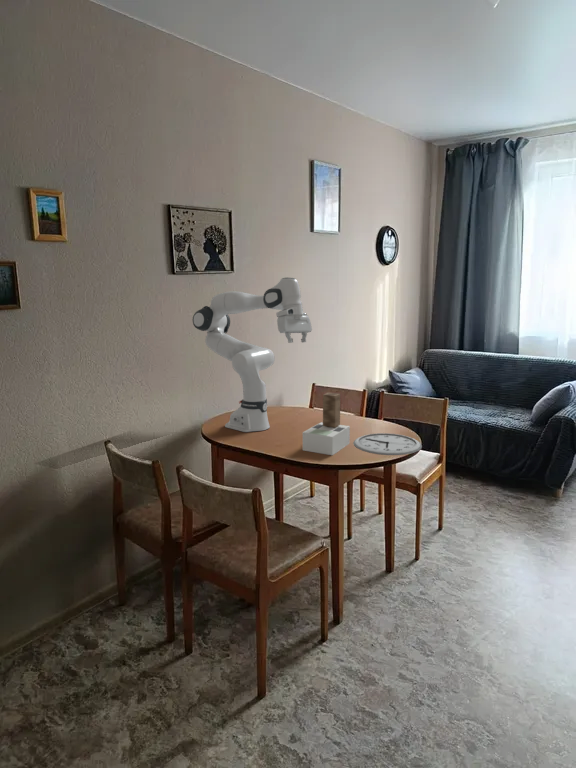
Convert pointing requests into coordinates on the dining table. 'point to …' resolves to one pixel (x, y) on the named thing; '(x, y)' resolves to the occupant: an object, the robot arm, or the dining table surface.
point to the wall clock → (387, 444)
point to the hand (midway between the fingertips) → (297, 342)
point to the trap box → (326, 439)
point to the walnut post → (331, 409)
